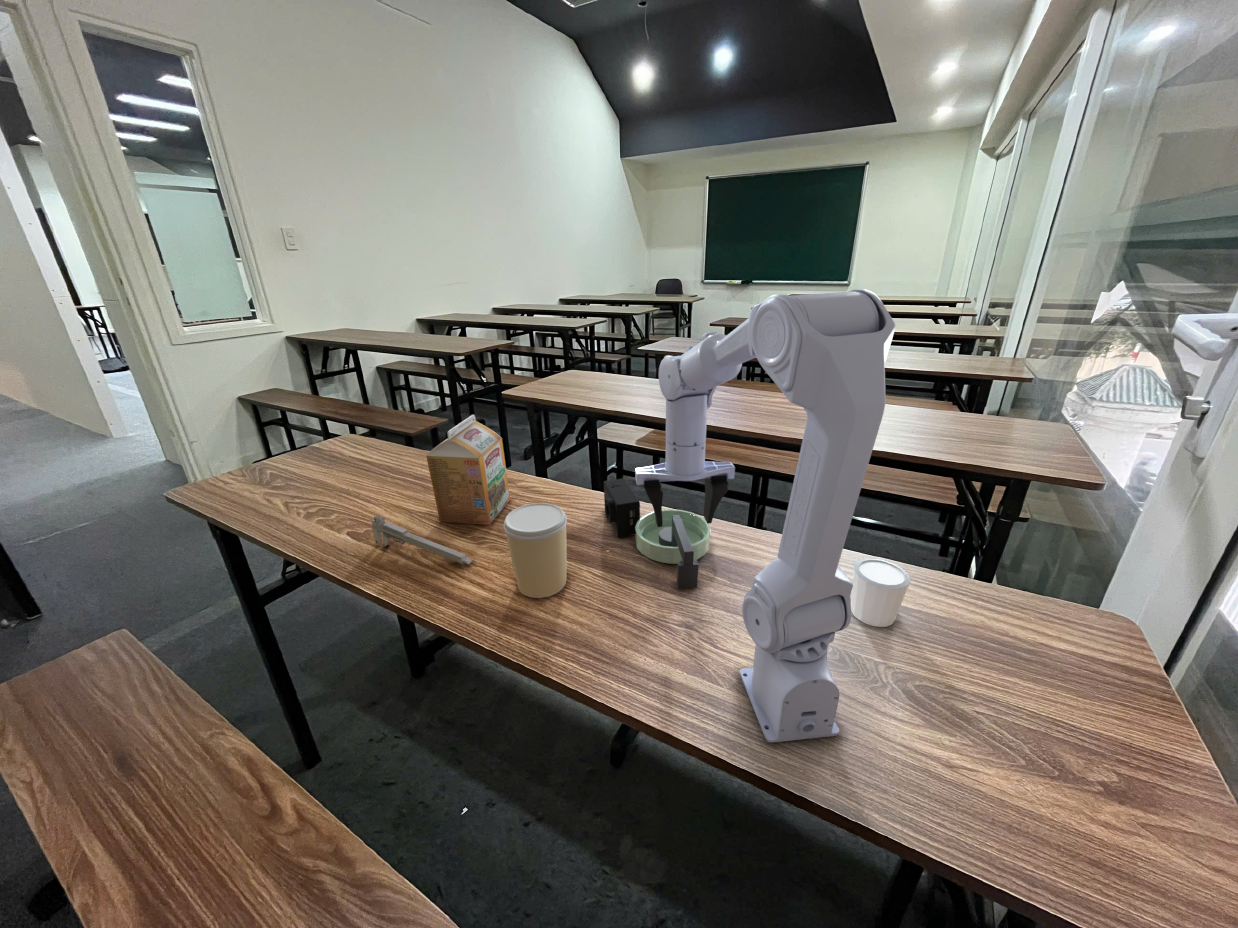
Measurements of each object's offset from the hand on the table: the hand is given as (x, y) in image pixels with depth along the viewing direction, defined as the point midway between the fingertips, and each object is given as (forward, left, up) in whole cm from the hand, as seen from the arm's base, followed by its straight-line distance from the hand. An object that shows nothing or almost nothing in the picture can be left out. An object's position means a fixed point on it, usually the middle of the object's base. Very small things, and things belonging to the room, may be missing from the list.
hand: (683, 521), depth 74 cm
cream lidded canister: (0, +23, -10) cm, 24 cm away
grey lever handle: (+3, 0, -9) cm, 9 cm away
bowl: (+8, 0, -9) cm, 12 cm away
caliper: (+11, +44, -10) cm, 47 cm away
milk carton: (+26, +38, -10) cm, 47 cm away
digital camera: (+17, +9, -10) cm, 21 cm away
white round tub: (-13, -24, -10) cm, 29 cm away
